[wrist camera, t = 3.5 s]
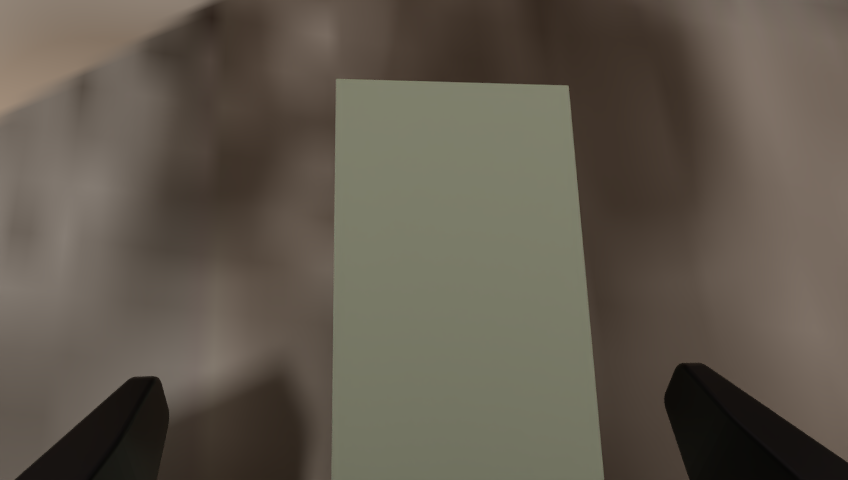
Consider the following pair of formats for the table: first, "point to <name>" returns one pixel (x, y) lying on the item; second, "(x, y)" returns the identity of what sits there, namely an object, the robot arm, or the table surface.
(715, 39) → the table surface
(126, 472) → the robot arm
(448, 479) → the tall green pillar
